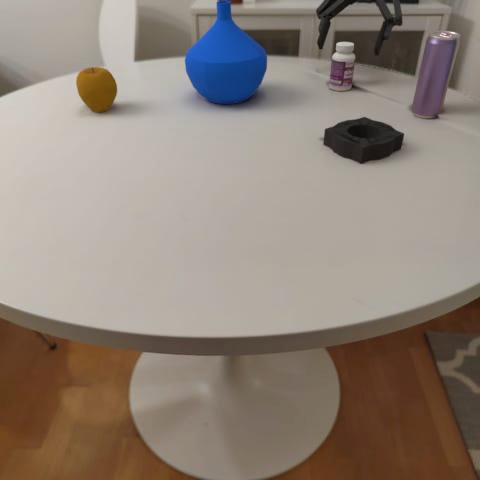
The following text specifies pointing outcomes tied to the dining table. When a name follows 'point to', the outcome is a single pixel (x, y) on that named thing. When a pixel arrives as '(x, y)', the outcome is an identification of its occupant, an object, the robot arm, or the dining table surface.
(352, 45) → the pill bottle
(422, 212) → the dining table surface
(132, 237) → the dining table surface
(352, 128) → the dock pad
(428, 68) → the beverage can
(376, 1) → the robot arm
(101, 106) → the apple
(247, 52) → the vase
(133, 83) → the dining table surface
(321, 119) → the dining table surface
